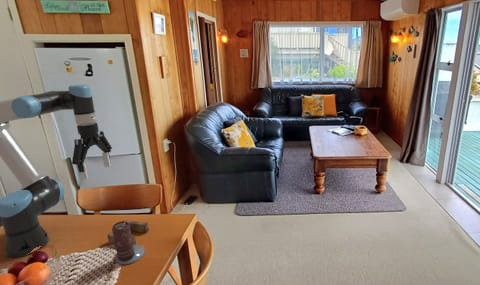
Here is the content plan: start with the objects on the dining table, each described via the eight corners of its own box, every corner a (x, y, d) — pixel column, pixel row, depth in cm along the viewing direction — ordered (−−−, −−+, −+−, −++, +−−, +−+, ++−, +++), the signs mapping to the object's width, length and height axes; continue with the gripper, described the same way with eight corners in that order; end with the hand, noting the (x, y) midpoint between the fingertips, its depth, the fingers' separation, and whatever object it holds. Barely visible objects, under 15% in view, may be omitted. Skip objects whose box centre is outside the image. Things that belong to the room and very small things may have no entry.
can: (138, 251, 115) (132, 220, 111) (129, 262, 109) (122, 230, 105) (124, 250, 116) (118, 219, 112) (114, 261, 111) (108, 228, 106)
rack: (108, 243, 123) (107, 235, 122) (125, 227, 134) (124, 220, 133) (133, 246, 120) (132, 238, 119) (148, 230, 131) (147, 222, 130)
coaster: (109, 262, 111) (108, 260, 111) (126, 245, 121) (126, 243, 121) (134, 266, 108) (133, 264, 108) (150, 248, 118) (149, 246, 118)
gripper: (70, 131, 105) (82, 185, 111) (114, 117, 128) (122, 162, 134) (53, 131, 107) (66, 184, 113) (100, 117, 130) (109, 161, 136)
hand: (97, 172), depth 124 cm, fingers open, 13 cm apart
